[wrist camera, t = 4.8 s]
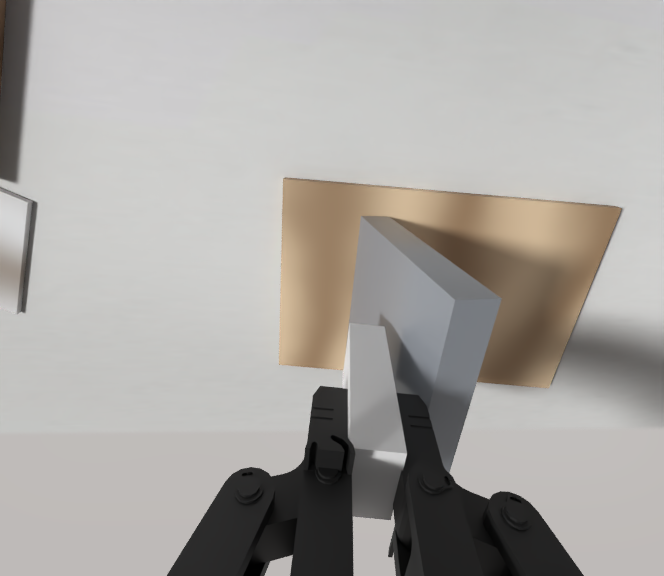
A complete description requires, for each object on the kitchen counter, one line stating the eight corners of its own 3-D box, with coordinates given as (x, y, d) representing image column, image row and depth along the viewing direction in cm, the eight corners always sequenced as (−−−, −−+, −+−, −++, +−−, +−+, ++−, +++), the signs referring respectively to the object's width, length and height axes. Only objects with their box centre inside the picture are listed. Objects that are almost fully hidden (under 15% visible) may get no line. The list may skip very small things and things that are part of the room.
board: (280, 359, 25) (278, 364, 25) (284, 177, 20) (283, 179, 20) (544, 382, 25) (548, 388, 25) (614, 206, 20) (621, 208, 20)
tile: (345, 355, 24) (406, 500, 15) (361, 215, 20) (455, 300, 11) (371, 353, 24) (446, 494, 15) (391, 216, 20) (505, 298, 11)
